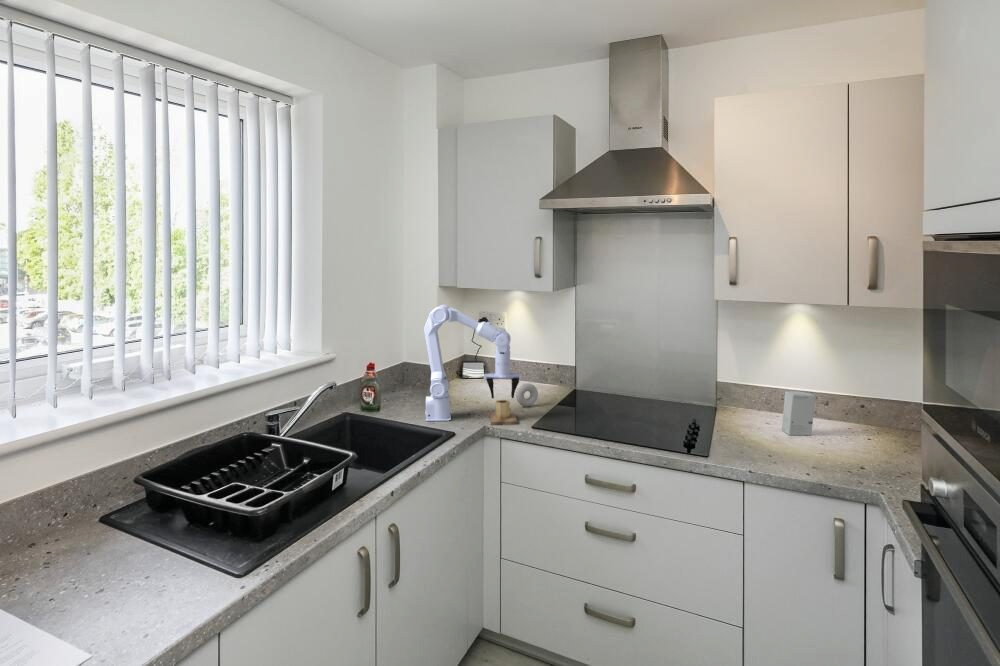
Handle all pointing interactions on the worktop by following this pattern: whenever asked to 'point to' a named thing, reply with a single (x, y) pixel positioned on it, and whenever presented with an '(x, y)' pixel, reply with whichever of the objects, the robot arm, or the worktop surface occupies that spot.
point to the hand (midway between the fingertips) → (502, 397)
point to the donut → (531, 399)
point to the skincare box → (798, 413)
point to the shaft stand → (497, 421)
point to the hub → (502, 409)
